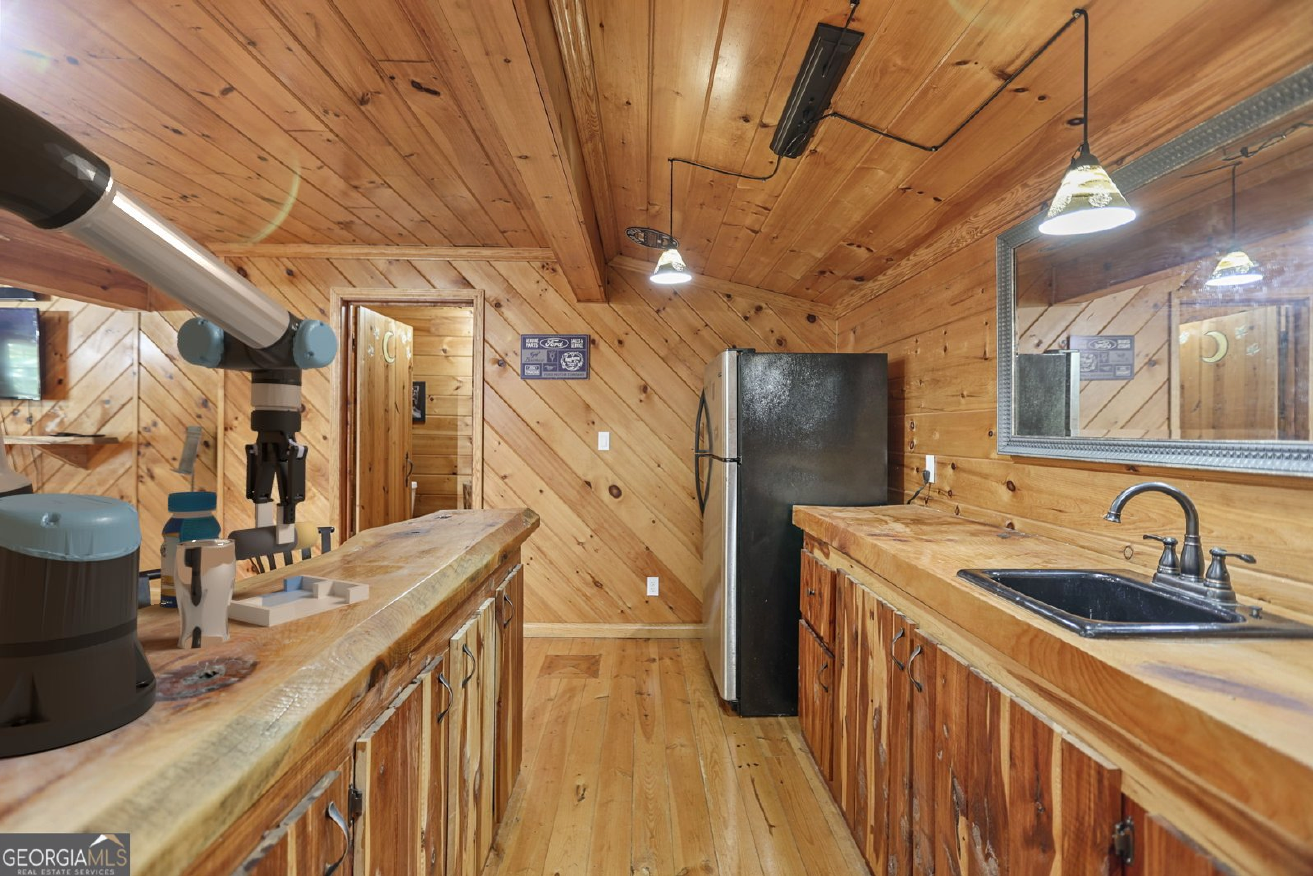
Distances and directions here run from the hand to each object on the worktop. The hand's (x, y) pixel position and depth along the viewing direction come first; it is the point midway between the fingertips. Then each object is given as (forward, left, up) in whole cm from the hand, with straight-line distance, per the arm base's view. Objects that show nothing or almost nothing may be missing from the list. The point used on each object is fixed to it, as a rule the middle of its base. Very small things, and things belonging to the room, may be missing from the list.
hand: (274, 541), depth 103 cm
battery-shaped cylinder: (0, 0, -2) cm, 2 cm away
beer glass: (-17, -11, -12) cm, 24 cm away
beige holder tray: (0, -4, -12) cm, 12 cm away
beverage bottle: (-6, +13, -12) cm, 18 cm away
